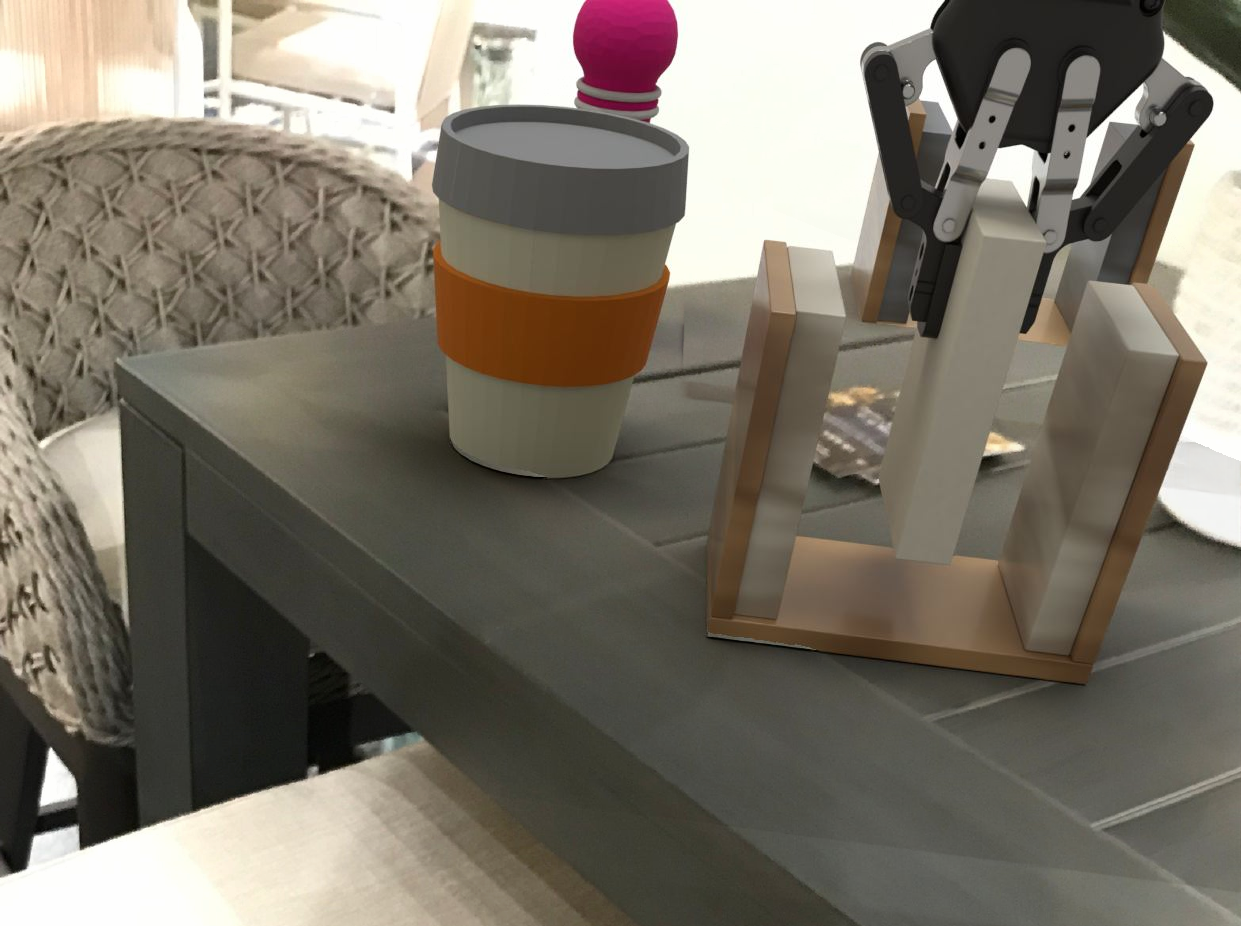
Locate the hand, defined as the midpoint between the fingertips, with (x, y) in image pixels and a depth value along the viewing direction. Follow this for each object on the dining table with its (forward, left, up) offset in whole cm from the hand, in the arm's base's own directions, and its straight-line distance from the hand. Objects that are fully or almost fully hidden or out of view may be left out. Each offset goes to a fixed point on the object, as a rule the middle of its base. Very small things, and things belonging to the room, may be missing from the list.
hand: (964, 334), depth 68 cm
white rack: (0, 0, -12) cm, 12 cm away
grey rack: (-10, -45, -12) cm, 48 cm away
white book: (0, 0, -8) cm, 8 cm away
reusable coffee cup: (+18, -15, -13) cm, 27 cm away
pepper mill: (+16, -36, -13) cm, 41 cm away
